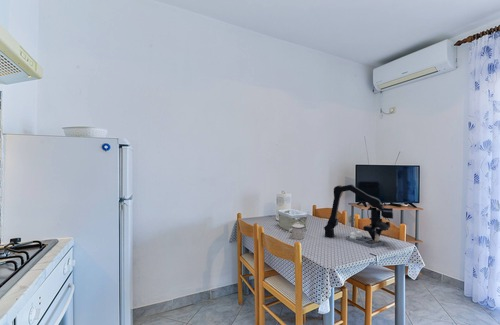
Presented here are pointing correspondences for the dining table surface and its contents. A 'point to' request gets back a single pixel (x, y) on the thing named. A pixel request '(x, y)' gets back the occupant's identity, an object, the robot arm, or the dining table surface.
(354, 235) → the cream egg
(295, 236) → the teacup with lid
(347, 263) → the dining table surface
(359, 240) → the egg tray
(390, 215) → the robot arm
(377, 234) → the brown egg
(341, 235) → the dining table surface
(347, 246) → the dining table surface
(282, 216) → the storage basket
